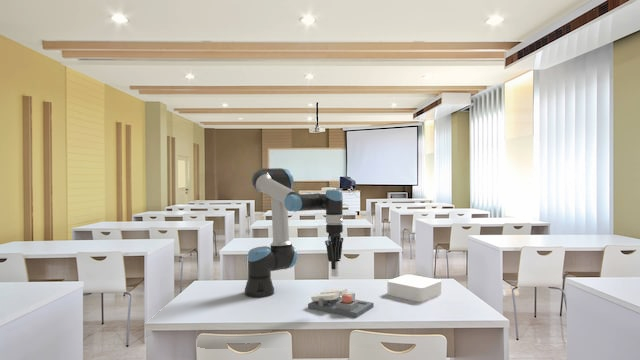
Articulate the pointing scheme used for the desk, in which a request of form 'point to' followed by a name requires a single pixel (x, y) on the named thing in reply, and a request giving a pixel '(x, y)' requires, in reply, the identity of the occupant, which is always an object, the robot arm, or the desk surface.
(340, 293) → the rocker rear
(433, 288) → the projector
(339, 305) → the panel
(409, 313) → the desk surface
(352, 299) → the block
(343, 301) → the button
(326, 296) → the block
